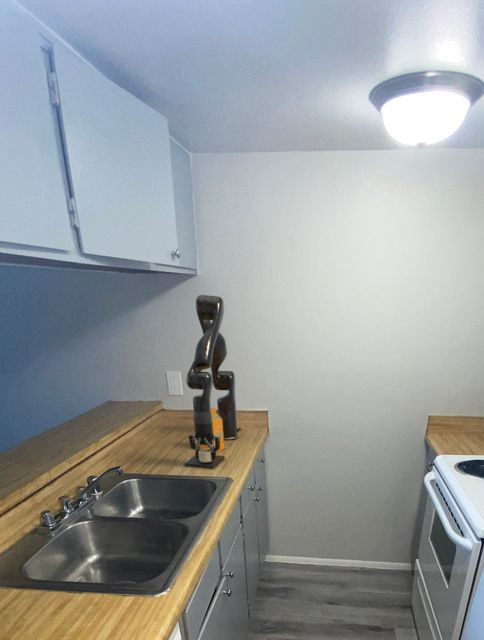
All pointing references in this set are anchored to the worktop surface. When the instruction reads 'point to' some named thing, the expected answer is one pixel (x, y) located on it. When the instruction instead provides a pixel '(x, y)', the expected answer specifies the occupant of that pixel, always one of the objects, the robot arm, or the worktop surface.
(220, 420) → the orange juice
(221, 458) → the scale
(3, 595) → the worktop surface
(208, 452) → the bowl
